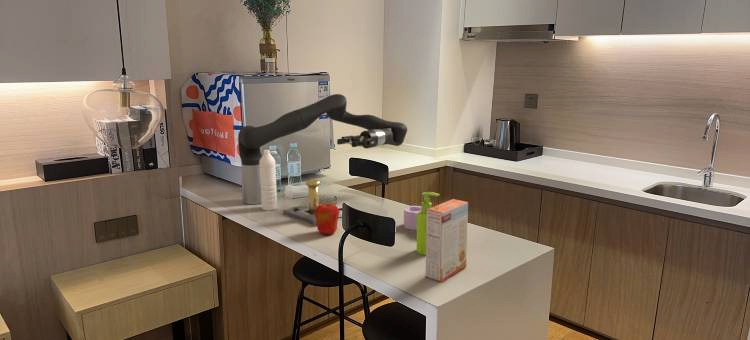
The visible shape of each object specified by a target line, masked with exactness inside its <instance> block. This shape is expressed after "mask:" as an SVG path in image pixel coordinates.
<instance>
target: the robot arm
mask: <svg viewBox="0 0 750 340" xmlns="http://www.w3.org/2000/svg"><path fill="white" fill-rule="evenodd" d="M347 103H348V102H347V97H346V96H344V95H343V94H340V93H334V94H330V95H328V96H327V97H324V98H322V99H320V100H318V101H316V102H314V103H311V104H309V105H306V106H303V107H301V108H298V109H294V110H292V111H290V112H287V113H284V114H283V115H281V116H279V117H278V118H277V119H276V120H275V119H274V121H272V122H269V123H267V124H264V125H261V126H253V125H244V126H243V127H241V129H240V130H239V132H238V135H237V142H238V153H239V158H240V161H241V163H240V164H241V165H240V166H241V193H242V202H243V204H246V205H259V204H261V203H262V202H261V184H260V165H259V162H260V159H261V157H262V156H263V154H262V153H261V147H263V146H265V145H267V144H269V143H271V142H273V141H275V140H277V139H279V138H283V137H286V136H287V137H288V136H290V135H292V134H295V133H298V132H300V131H303V130H305V129H307V128H309V127H310V126H311V125H312V124H314V122H316V120H318V119H319V118H320V117H321V116H323V115H324V114H326V116H327V117H328V118H329V119H330V120H332V121H335V122H338V123H339V122H340V123H343V124H346V125H351V126H356V127H359V128H361V129H364V130H363V131H361V132H360V134H359V135H357V134H356V135H347V136H346V135H345V136H341V138H338V139H337V140H336V144H337V145H346V144H348V145H350V146H351V148H356V147H360V148H361V147H362V148H363V149H366V150H367V149H372V148H377V147H380V146H384V145H391V146H395V147H400V146H401V145H403V143H404V141H405V138H406V135H407V133H408V128H407V125H406V124H404V123H403V122H399V121H397V122H396V121H391V120H385V119H382V118H380V117H378V116H375V115H372V114H353V113H351V112H348V111H347Z"/></svg>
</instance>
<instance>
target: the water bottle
mask: <svg viewBox="0 0 750 340" xmlns="http://www.w3.org/2000/svg"><path fill="white" fill-rule="evenodd" d="M275 154H276V155H277V154H278V152H277V150H270V149H264V150H263V154H262V157H261V159H260V162H259V165H260V184H261V202H262V203H260V204H261V210H264V211H274V210H277V209H278V198H277V197H278V193H277V191H278V189H277V171H276V170H277V169H276V160H275V158H274V157H273V156H272V155H275Z"/></svg>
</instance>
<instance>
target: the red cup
mask: <svg viewBox="0 0 750 340" xmlns="http://www.w3.org/2000/svg"><path fill="white" fill-rule="evenodd" d="M339 216H340V209H339V208H338V206H337V205H335V204H333V203H328V202H326V203H321V204H319V205H318V206H317V208H316V210H315V218H316V222H317V225H316V229H317V231H319V232H320V233H321V234H322V235H328V236H329V235H333V234H335V233H336V232H337V230H338V220H339Z"/></svg>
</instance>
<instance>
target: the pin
mask: <svg viewBox="0 0 750 340" xmlns="http://www.w3.org/2000/svg"><path fill="white" fill-rule="evenodd" d="M305 185H306V186H307V194H308V200H307V201H308V208H309V213H310V214H315V210H316V208H317V206H318V205H320V197H319V196H320V195H319V189H320V188H319V186H321V180H319V179H308V180H306V181H305Z"/></svg>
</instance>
